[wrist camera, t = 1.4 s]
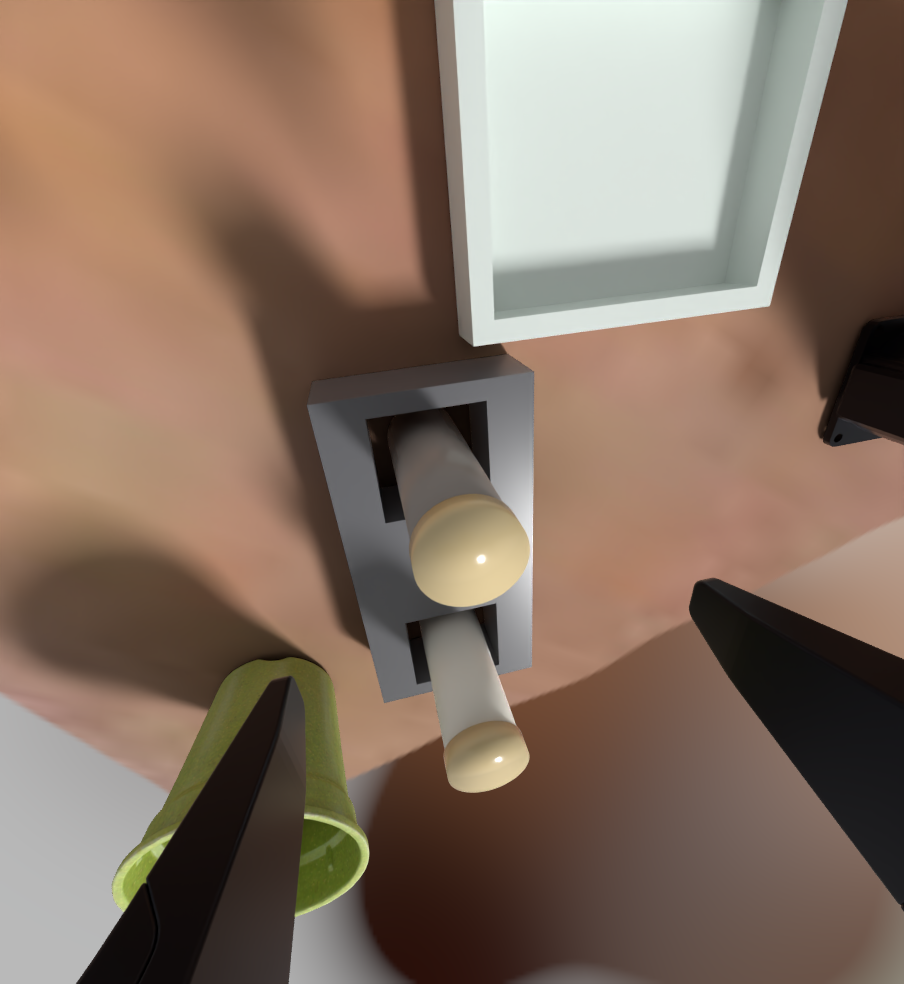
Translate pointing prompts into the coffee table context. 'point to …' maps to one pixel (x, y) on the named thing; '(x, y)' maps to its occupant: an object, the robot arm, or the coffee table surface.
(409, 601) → the fuse holder
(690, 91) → the parts tray
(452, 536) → the cream capped cylinder
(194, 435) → the coffee table surface
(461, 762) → the cylinder
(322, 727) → the plant pot
